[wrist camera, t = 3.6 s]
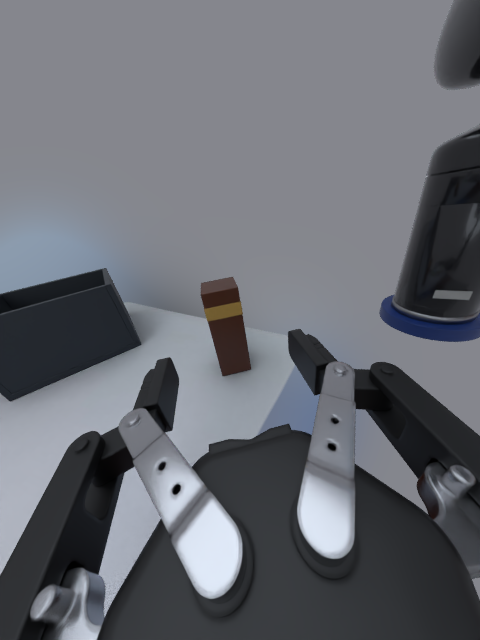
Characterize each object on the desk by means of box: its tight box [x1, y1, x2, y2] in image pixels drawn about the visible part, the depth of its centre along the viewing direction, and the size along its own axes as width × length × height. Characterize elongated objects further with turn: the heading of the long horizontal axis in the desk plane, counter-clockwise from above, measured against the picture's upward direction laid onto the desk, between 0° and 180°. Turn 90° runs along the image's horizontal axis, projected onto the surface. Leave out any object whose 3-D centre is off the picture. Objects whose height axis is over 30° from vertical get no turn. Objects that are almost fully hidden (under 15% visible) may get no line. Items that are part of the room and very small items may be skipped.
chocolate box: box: [201, 277, 251, 376], centre depth 25 cm, size 4×4×12 cm
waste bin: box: [0, 268, 141, 401], centre depth 36 cm, size 19×19×12 cm
